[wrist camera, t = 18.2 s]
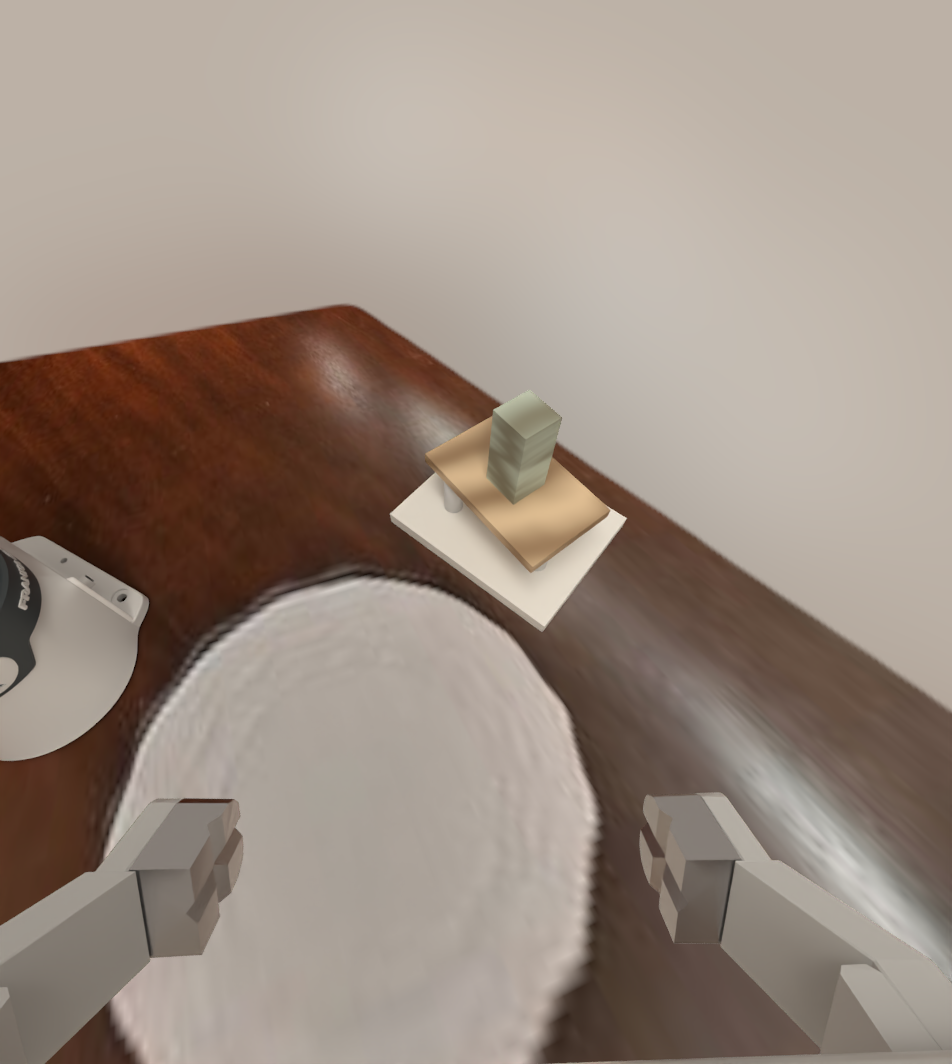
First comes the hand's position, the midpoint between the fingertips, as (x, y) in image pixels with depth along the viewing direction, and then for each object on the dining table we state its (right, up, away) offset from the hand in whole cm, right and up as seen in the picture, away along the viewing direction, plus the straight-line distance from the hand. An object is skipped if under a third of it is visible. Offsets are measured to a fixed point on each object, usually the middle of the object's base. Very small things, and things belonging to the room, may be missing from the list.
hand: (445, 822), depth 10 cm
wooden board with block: (+4, +10, +39) cm, 41 cm away
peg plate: (+4, +7, +45) cm, 45 cm away
